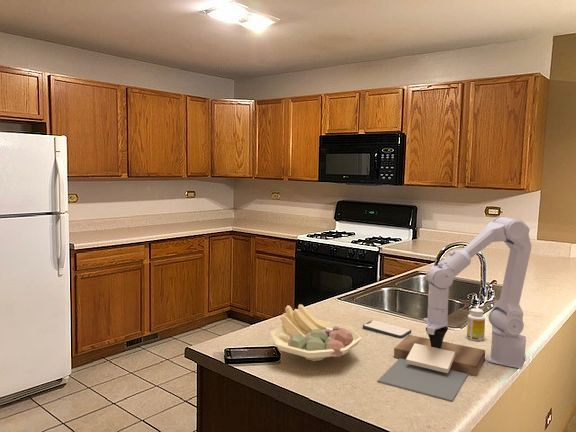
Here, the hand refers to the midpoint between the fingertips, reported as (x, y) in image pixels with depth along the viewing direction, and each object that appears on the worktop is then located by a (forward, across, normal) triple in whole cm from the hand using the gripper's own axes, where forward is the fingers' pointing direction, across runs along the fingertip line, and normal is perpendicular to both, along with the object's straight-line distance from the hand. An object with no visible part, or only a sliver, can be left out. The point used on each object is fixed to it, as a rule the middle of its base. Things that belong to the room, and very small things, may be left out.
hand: (436, 350), depth 140 cm
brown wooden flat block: (+4, -4, 0) cm, 5 cm away
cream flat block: (+1, +5, 0) cm, 5 cm away
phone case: (+4, -19, -23) cm, 30 cm away
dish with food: (+4, +16, -33) cm, 37 cm away
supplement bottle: (+4, -28, +6) cm, 29 cm away
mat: (+4, +13, 0) cm, 13 cm away
